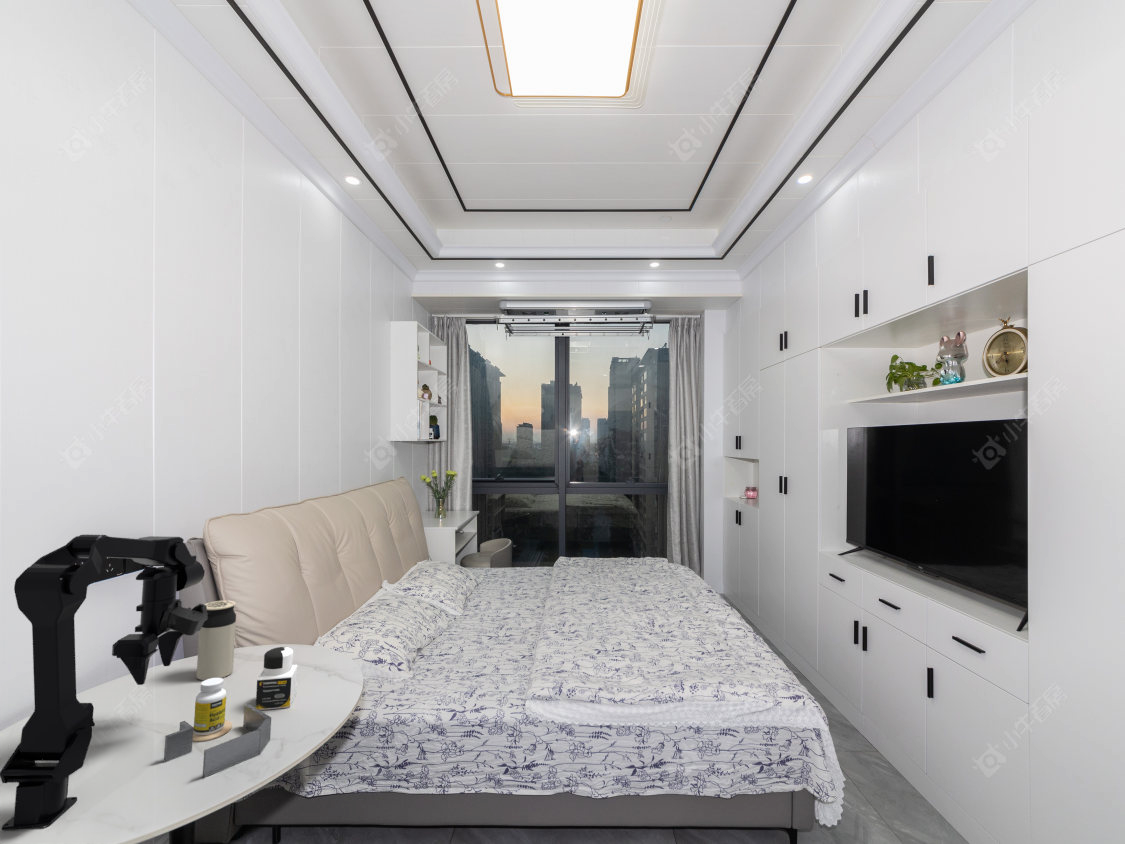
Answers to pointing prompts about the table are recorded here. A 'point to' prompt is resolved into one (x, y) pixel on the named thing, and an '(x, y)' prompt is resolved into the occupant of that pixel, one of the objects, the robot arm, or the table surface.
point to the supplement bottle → (210, 707)
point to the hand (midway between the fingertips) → (154, 674)
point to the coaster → (218, 734)
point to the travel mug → (217, 641)
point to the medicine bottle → (277, 680)
